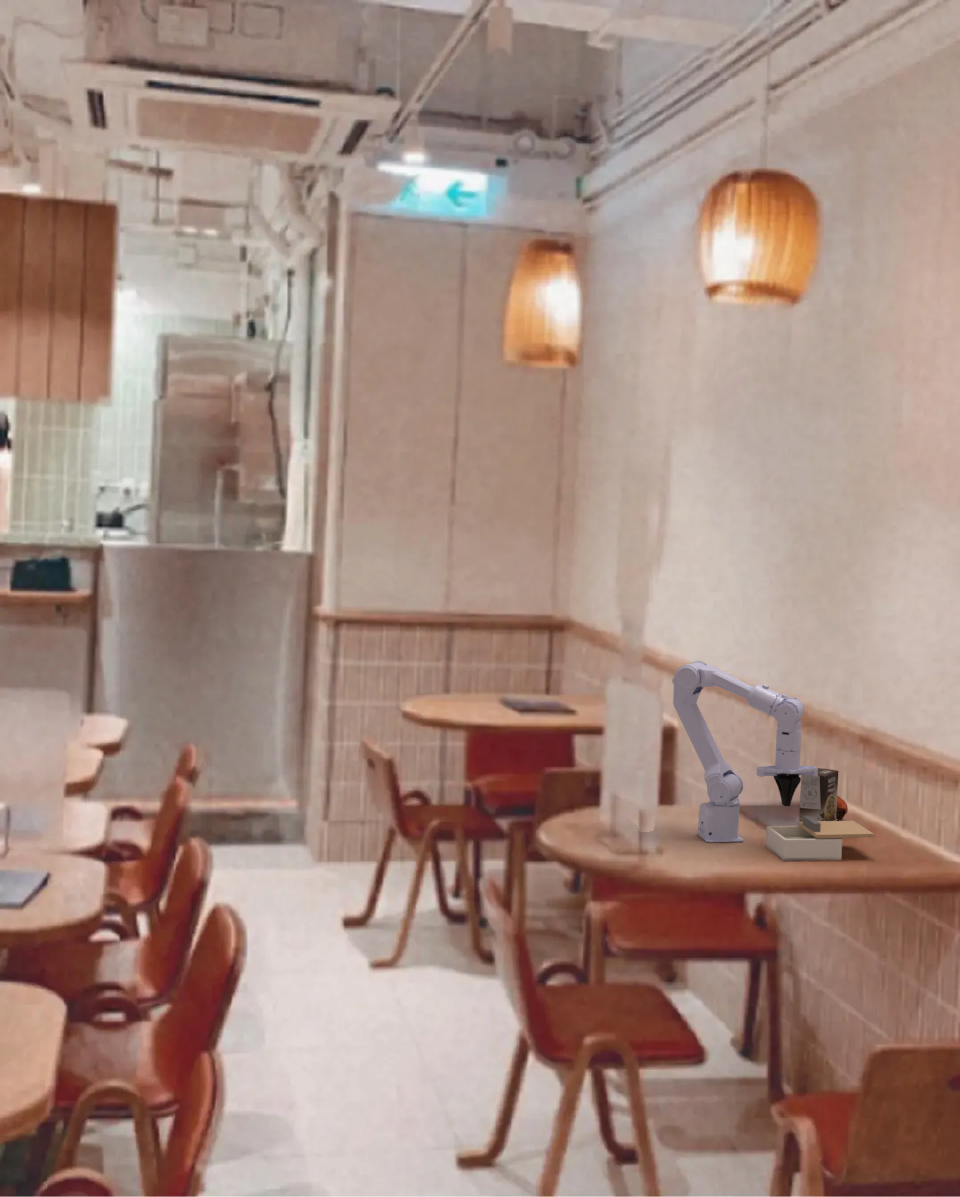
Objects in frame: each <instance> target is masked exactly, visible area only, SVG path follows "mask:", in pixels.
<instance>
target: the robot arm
mask: <svg viewBox="0 0 960 1197" xmlns="http://www.w3.org/2000/svg"><path fill="white" fill-rule="evenodd" d="M671 682H672V684H673V694H672V695H673V699H672V704H673V707H674V709H675V712H676V713H677V716H678V717H679V719H680V721H681V724H682V725H683V728H684V730H685V733H686V734H687V736H688V738H689V740H690V742H691V744H692V746H693V749H694V750H695V753H696V754H697V756H698V759H699V761H700V762H701V765H702V767H703V769H704V776H703V777H704V781H705V784H706V792H707V796H708V798H709V801H708V802H702V803H700V804H699V808H698V821H697V822H698V826H697V833H696V834H697V835H698V836H699V837H700V838H701V839H703V841H705V842H706V843H734V842H736V843H737V842H739V843H743V842H744V841H745V839H743V838H742V837H741V836H740V835H739V827H740V826H739V822H740V820H739V819H740V805H741V804H740V799H739V796H740V795H741V793H742V792H743V790H744V782H743V780H742V778H741V777H740V776H739V775H738V774H737V773H736V772H735V771H734V769H733V768H732V766H731V765H730V764H729V763H728V762H727V761H726V760H725V759H724V757H723V755H722V753H721V751H720V749H719V747H718V745H717V743H716V740H715V738H714V737H713V734H712V733H711V731H710V728H709V726H708V724H707V722H706V720H705V717H704V716H703V713H702V712H701V710H700V708H699V706H698V704H697V703H698V699H699V698H700V694H701V693H702V691H703V689H704V688H708V687H709V688H710V687H718V688H720V689H723V690H725V691H728V692H729V693H732V694H734V695H737V696H738V697H741V698H745V700H746V702H747V705H748V706H749V707H751V708H752V709H755V710H757V711H759V712H762V713H764V714H766V715H768V716H771V717H772V718H773V717H774V720H775V721H776V724H777V725H776V735H775V736H776V738H775V739H776V741H775V742H776V743H775V761H774V762H775V764H774V765H769V766H768V765H767V766H756V775H757V777H772V776H773V779H774V782H775V783H776V785H777V788H778V792H779V795H780V798H781V799H780V800H781V805H782V806H784V807H791V804H792V801H793V797H794V794H795V792H796V790H797V788H798V786H799V784H801V775H813V776H818V768H819V767H817V766H816V765H800V764H801V749H802V748H801V747H802V746H801V745H802V742H801V741H802V720H801V719H802V718H804V716H805V711H806V710H805V706H804V704H803V702H802V701H801V700H800V699H798V698H797V697H795V696H792V697H791V696H790V697H788V695H787V694H785V693H782V694H781V693H779V692H777V691H774V690H772V689H770V685H768V684H766V683H764V684H760V683H759V684H756V685H754V686H752V685H750V684H748V683H746V682H745V681H742V680H741V679H739V678H736V677H735V676H733V675H732V674H730V673H727V672H726V671H723V670H722V669H719V668H718V667H716V666H715V665H712V664H707V663H706V662H704V661H701V660H695V661H692V662H691V663H689V664H683V665H681V666H680V667H678V668H677V670H676V671H675V673H674V675H673V678H672V680H671Z"/></svg>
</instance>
